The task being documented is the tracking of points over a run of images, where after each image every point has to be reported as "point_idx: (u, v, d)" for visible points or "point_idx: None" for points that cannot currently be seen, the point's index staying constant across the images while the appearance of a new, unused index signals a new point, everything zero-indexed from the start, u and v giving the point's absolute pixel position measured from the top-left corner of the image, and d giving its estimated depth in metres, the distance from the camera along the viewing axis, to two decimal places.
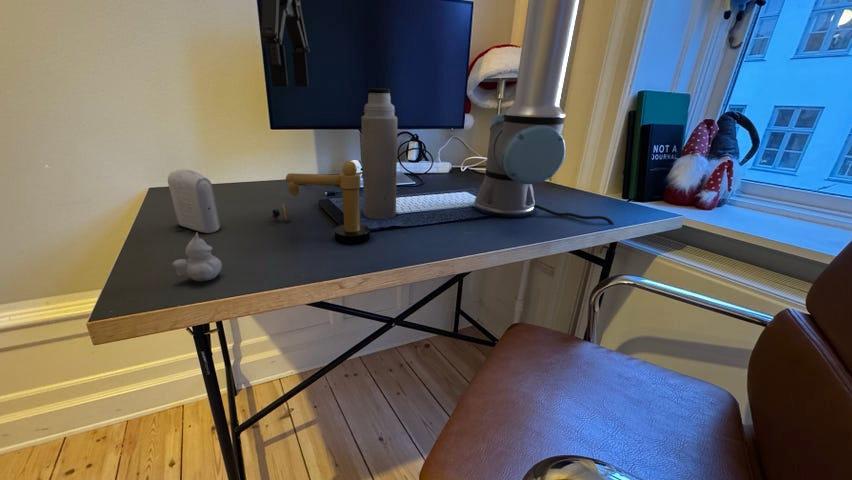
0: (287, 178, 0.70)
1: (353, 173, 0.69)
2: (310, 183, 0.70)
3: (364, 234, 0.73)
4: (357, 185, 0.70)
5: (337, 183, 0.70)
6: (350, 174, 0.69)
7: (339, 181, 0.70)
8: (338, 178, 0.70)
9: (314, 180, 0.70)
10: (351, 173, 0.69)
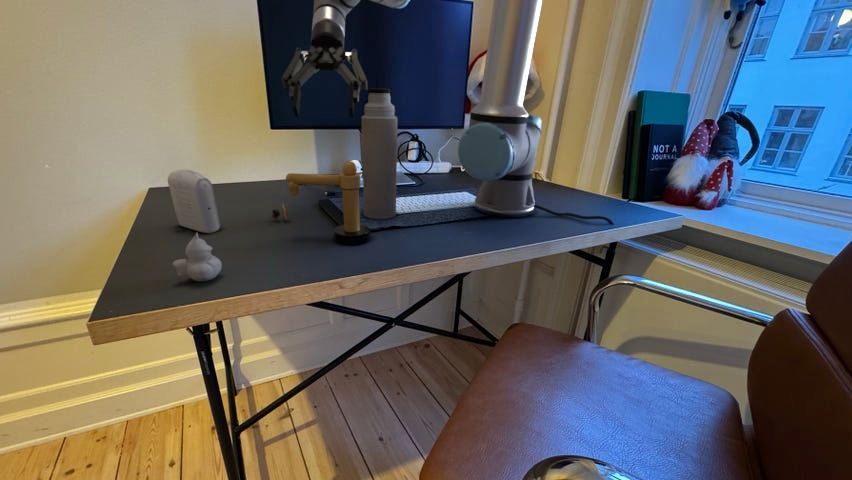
0: (287, 178, 0.70)
1: (353, 173, 0.69)
2: (310, 183, 0.70)
3: (364, 234, 0.73)
4: (357, 185, 0.70)
5: (337, 183, 0.70)
6: (350, 174, 0.69)
7: (339, 181, 0.70)
8: (338, 178, 0.70)
9: (314, 180, 0.70)
10: (351, 173, 0.69)
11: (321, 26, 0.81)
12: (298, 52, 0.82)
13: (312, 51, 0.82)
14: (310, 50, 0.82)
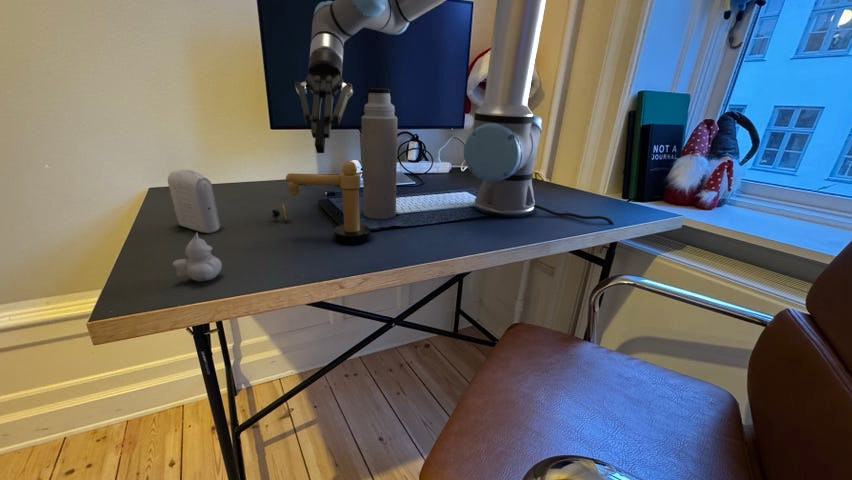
0: (287, 178, 0.70)
1: (353, 173, 0.69)
2: (310, 183, 0.70)
3: (364, 234, 0.73)
4: (357, 185, 0.70)
5: (337, 183, 0.70)
6: (350, 174, 0.69)
7: (339, 181, 0.70)
8: (338, 178, 0.70)
9: (314, 180, 0.70)
10: (351, 173, 0.69)
11: (318, 54, 0.80)
12: (300, 85, 0.80)
13: (309, 79, 0.81)
14: (307, 78, 0.81)
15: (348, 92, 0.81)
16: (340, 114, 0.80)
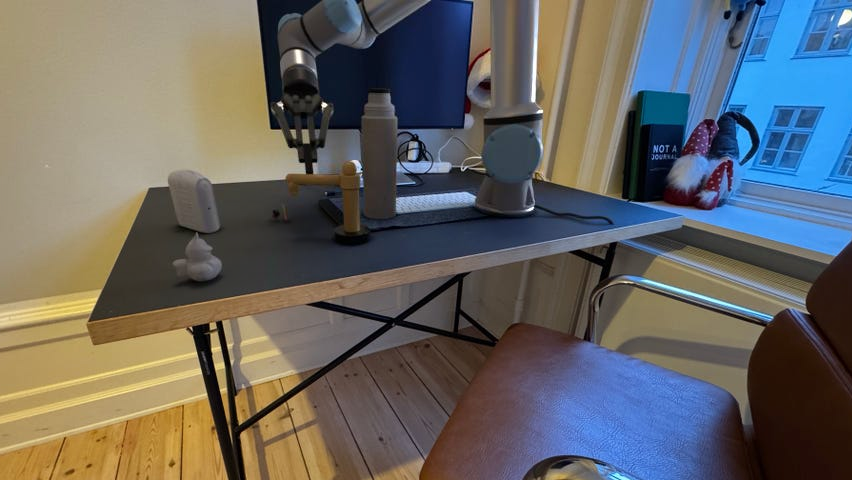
0: (287, 178, 0.70)
1: (353, 173, 0.69)
2: (310, 183, 0.70)
3: (364, 234, 0.73)
4: (358, 185, 0.70)
5: (337, 183, 0.70)
6: (350, 174, 0.69)
7: (339, 181, 0.70)
8: (338, 178, 0.70)
9: (314, 180, 0.70)
10: (351, 173, 0.69)
11: (295, 73, 0.75)
12: (277, 106, 0.74)
13: (286, 99, 0.75)
14: (284, 98, 0.75)
15: (330, 113, 0.77)
16: (325, 137, 0.75)
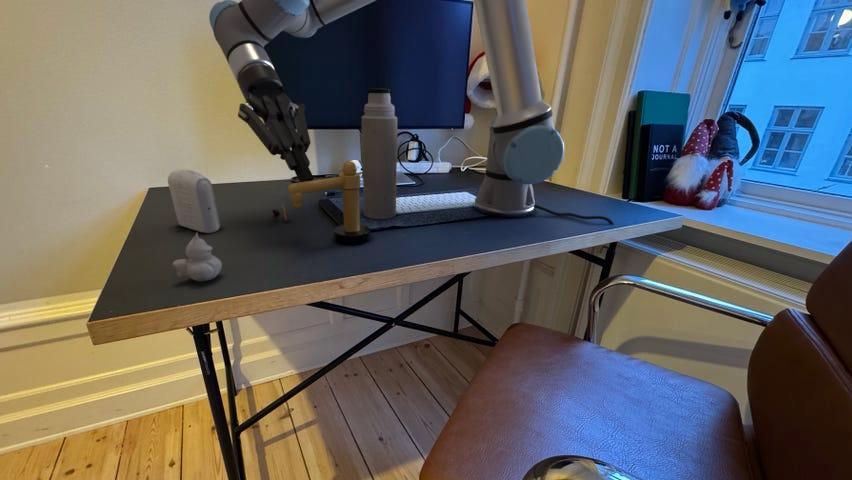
0: (294, 188, 0.63)
1: (355, 172, 0.70)
2: (316, 190, 0.66)
3: (364, 234, 0.73)
4: (360, 184, 0.71)
5: (342, 185, 0.69)
6: (354, 174, 0.69)
7: (344, 182, 0.69)
8: (343, 180, 0.69)
9: (321, 186, 0.66)
10: (355, 172, 0.69)
11: (260, 70, 0.66)
12: (248, 109, 0.65)
13: (254, 100, 0.66)
14: (251, 99, 0.66)
15: None
16: None
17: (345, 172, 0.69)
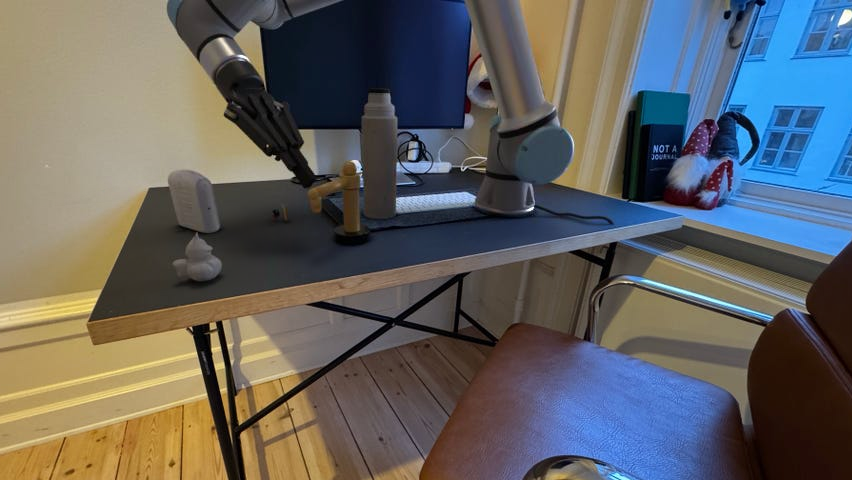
0: (316, 193, 0.60)
1: None
2: (331, 193, 0.64)
3: (364, 234, 0.73)
4: None
5: (347, 185, 0.69)
6: (355, 173, 0.70)
7: (349, 183, 0.69)
8: (348, 180, 0.68)
9: (334, 188, 0.65)
10: None
11: (242, 66, 0.62)
12: (237, 108, 0.60)
13: (240, 98, 0.61)
14: (237, 97, 0.61)
15: None
16: None
17: (348, 172, 0.69)
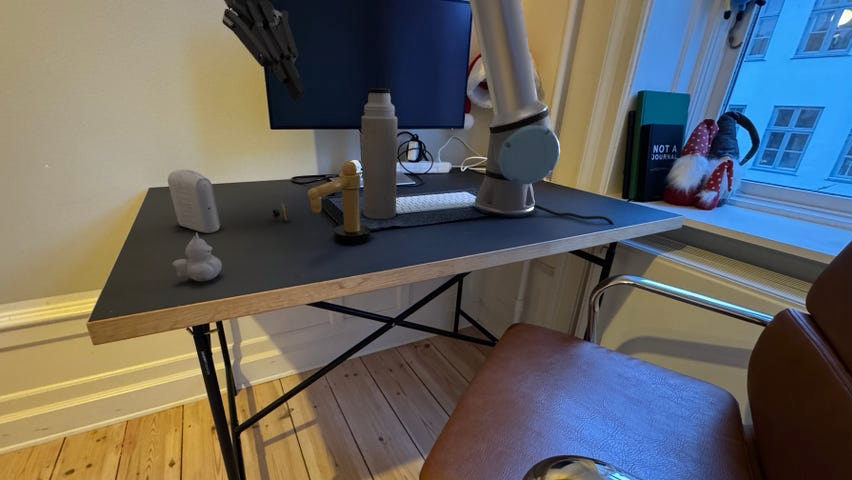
0: (316, 193, 0.60)
1: None
2: (331, 193, 0.64)
3: (364, 234, 0.73)
4: None
5: (347, 185, 0.69)
6: (355, 173, 0.70)
7: (349, 183, 0.69)
8: (348, 180, 0.68)
9: (334, 188, 0.65)
10: None
11: None
12: (234, 15, 0.64)
13: (238, 5, 0.65)
14: (235, 4, 0.65)
15: None
16: None
17: (348, 172, 0.69)
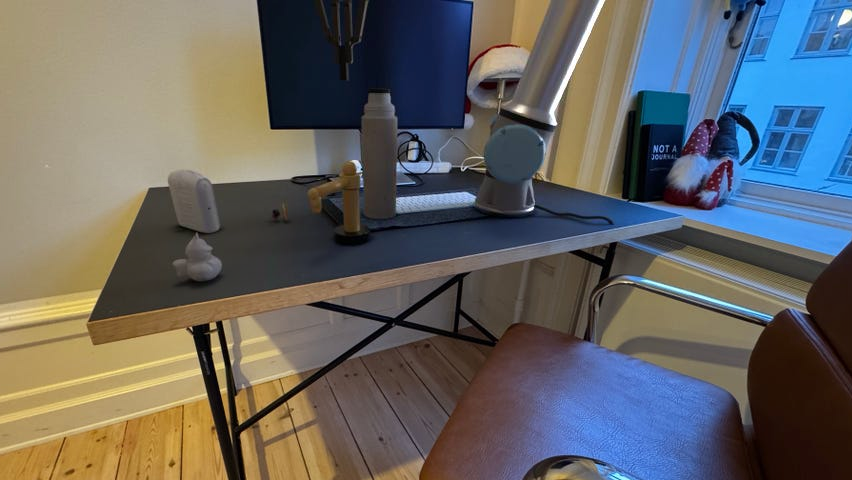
0: (316, 193, 0.60)
1: None
2: (331, 193, 0.64)
3: (364, 234, 0.73)
4: None
5: (347, 185, 0.69)
6: (355, 173, 0.70)
7: (349, 183, 0.69)
8: (348, 180, 0.68)
9: (334, 188, 0.65)
10: None
11: None
12: None
13: None
14: None
15: None
16: (361, 32, 0.77)
17: (348, 172, 0.69)
